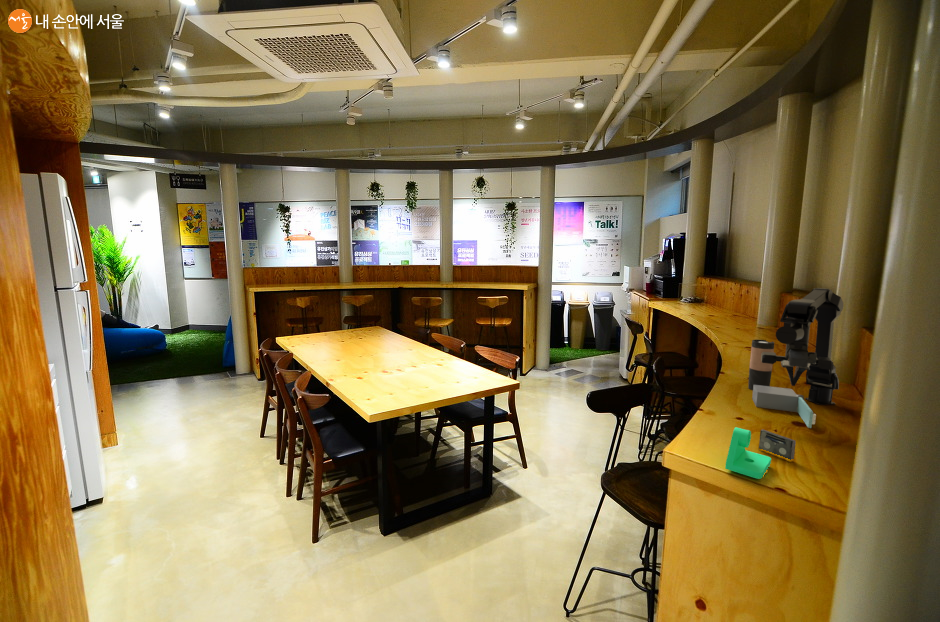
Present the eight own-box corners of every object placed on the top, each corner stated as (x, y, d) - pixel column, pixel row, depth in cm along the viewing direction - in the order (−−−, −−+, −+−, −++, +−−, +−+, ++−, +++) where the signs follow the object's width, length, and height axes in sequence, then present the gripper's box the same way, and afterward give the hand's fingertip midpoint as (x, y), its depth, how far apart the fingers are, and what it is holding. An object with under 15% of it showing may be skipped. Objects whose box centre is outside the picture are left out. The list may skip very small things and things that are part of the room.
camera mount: (759, 483, 106) (764, 443, 104) (724, 472, 111) (728, 434, 110) (771, 467, 114) (775, 429, 113) (737, 457, 120) (741, 421, 118)
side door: (797, 411, 153) (798, 397, 152) (803, 412, 152) (805, 397, 151) (808, 427, 139) (810, 411, 138) (815, 428, 138) (817, 412, 137)
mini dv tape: (793, 461, 117) (795, 440, 116) (790, 462, 116) (792, 441, 116) (761, 449, 124) (763, 429, 124) (758, 450, 124) (760, 429, 123)
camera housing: (798, 404, 161) (799, 389, 160) (805, 413, 152) (806, 398, 151) (752, 398, 167) (753, 384, 167) (756, 406, 158) (757, 392, 158)
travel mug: (749, 390, 177) (754, 342, 174) (745, 385, 184) (750, 338, 181) (772, 393, 174) (777, 343, 171) (767, 387, 181) (772, 340, 178)
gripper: (765, 341, 141) (760, 388, 143) (839, 347, 131) (833, 397, 134) (762, 335, 150) (759, 379, 153) (832, 340, 141) (827, 387, 143)
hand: (793, 385), depth 145 cm, fingers closed
